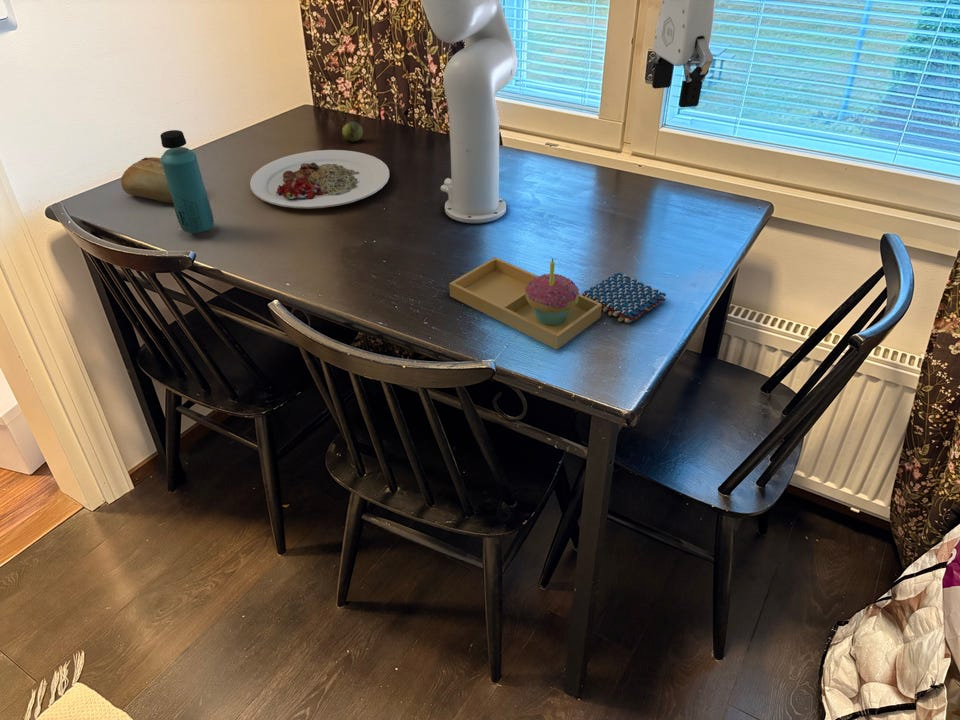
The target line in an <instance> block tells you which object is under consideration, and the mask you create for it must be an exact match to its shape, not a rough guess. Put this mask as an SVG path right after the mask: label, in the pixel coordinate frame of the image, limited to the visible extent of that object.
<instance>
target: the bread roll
mask: <svg viewBox="0 0 960 720" xmlns="http://www.w3.org/2000/svg"><path fill="white" fill-rule="evenodd" d="M160 159H161V157H144V158H141V159H140V160H138V161H137V162H134V163H132V164H131V165H130V166H129V167H127V168H126V169H125V171H124V172H123V174H122V176H121V177H120V184H121V188H122V190H123V191H124V192H125V193H126V194H127V195H130V196H133V197H138V198H139V197H140V198H143V199H150V200H154V201H160V202H162V203H163V202H164V203H170V204H174V203H173V200H172V199H171V198H172V196H171V193H170V190H169V186H167V185H168V183H167V179H166V176H165V172H164V169H163V166H162V163H161V160H160Z"/></svg>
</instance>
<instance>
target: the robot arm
mask: <svg viewBox="0 0 960 720" xmlns="http://www.w3.org/2000/svg"><path fill="white" fill-rule="evenodd" d="M420 2H421V5H422V7H423V10H424V12H425V15H426V19H427V21H428V25H429V26H430V29H431V31H432V33H433V34H434V36H435V37H436V38H437V39H438V40H440V41H441V42H444V43H447V44H453V43H454V44H455V43H458V42H461V41H464V44H465V47H464V48H462V49H460V50H459V51H457V52H456V53H455V54H453V56H451V58H450V59H449V60H448V62H447V64H446V65H445V68H444V72H443V79H442V80H443V90H444V95H445V98H446V105H447V113H448V126H449V145H450V147H449V149H450V175H451V178H449V177H447V178H445V180H444V181H443V184H441V186H440V191H441V192H443V193H445V194H447V196H448V198H447V200H446V201H445V203H444V212H445V214H446V216H448V217H449V218H451V219H452V220H455V221H456V222H460V223H464V224H465V223H466V224H484V223H490V222H493V221H496V220H498V219H500V218H502V217H503V216H504V215H505V214H506V212H507V203H506V201H505V200H504V199H503V198H502V197H501V196H500V118H499V112H498V107H497V103H496V94H497V93H498V92H499V91H500V90H502V89H503V88H504V87H506V86H508V84H509V83H510V82H512V80H513V79H514V77H515V75H516V73H517V70H518V55H517V49H516V46H515V43H514V39H513V37H512V34H511V31H510V28H509V24H508V22H507V17H506V16H505V12H504V10H503V6H502V4H501V1H500V0H420ZM715 2H716V0H661V4H660V8H659V12H658V18H657V24H656V28H655V33H654V34H655V35H654V41H653V51H654V53H655V55H654V62H655V63H654V70H653V76H652V85H651V87H652V88H653V89H668V88H670V87H671V86H672V80H673V73H674V67H682V69H683V74H684V79H685V80H682V82H681V88H680V94H679V100H678V106H679V107H680V108H690V107H691V108H692V107H693V108H694V107H697V106H698V105H699V103H700V97H701V93H702V92H701V91H702V86H703V82H705V80H706V76H707V75H708V74H709V71H710V70H709V69H710V67H711V65H712V63H713V62H714V56H713V54H712V52H711V50H710V46H711V40H712V32H713V27H714V26H713V25H714V16H715V5H716V3H715ZM694 67H695V68H694ZM692 68H694V69H693V70H692Z"/></svg>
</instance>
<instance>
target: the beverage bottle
mask: <svg viewBox="0 0 960 720" xmlns="http://www.w3.org/2000/svg"><path fill="white" fill-rule="evenodd" d="M160 140H161V146H162V148H165V149H166V150H165V151H164V152H163V154H162V155H161V157H160V158H161V159H160V160H161V163H162V166H163V169H164V172H165V176H166V179H167V183H168V185H167V186H169V190H170V193H171V196H172V198H171V199H172V200H173V203H172V204H173V207H174V208H173V209H174V212H175V216H176V218H177V222H178V225H179V227H180V228H181V231H183V232H185V233H188V234H198V233H203V232H206V231H208V230H211V228H213V226H214V224H215V223H214V222H215V218H214V215H213V210H212V207H211V202H210V199H209V197H208V193H207V189H206V185H205V183H204V181H203V177H202V173H201V169H200V165H199V162H198V158H197V154H196V152H195V151H194V150H192V149H190V148H188V147H184V146H186V144H187V140H186V138H185V135H184V132H183V131H181V130H180V129H179V130H178V129H172V130H167V131H164V132H162V133H160Z"/></svg>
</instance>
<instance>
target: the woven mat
mask: <svg viewBox="0 0 960 720" xmlns="http://www.w3.org/2000/svg"><path fill="white" fill-rule="evenodd" d="M589 288H590V289H587V290H584V291H583V293H581V295H582V296H585V297H587V298H589V299H591V300H594V301H596V302H598V303H601V304H602V312H604V313H607V315H608V316H614V317H616V318H617V322H623V321H624V322H625V323H631V322H633V321H635V320H637V319H638V318H639V317H641V316H642V315H643V314H645V313H648V312H649V311H650V310H652V309H653V308H655V307H656V306H658V305H660V303H661V302H665V301H666V296H667V293H666V292H661V291H660V289H656V288H652V285H648V284H646V283H645V282H643V281H642V282H641V281H639V280H638V279H637V278H636V279H635V278H631V275H626V274H625V273H622V272H617V273H614V274H613V275H612V276H609V277H607V278H606V279H605V280H602V281H601V282H600V283H599V282H598V283H596V284H595V286H591V287H589Z"/></svg>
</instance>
